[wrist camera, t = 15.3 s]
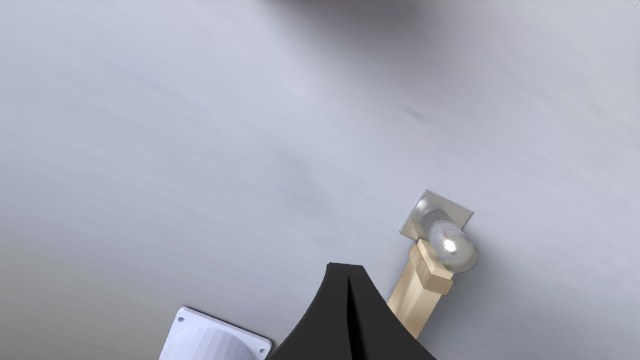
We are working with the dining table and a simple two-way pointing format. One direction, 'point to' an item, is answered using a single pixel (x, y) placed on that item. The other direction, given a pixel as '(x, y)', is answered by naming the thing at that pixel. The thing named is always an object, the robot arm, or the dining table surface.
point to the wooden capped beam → (419, 287)
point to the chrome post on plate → (442, 231)
